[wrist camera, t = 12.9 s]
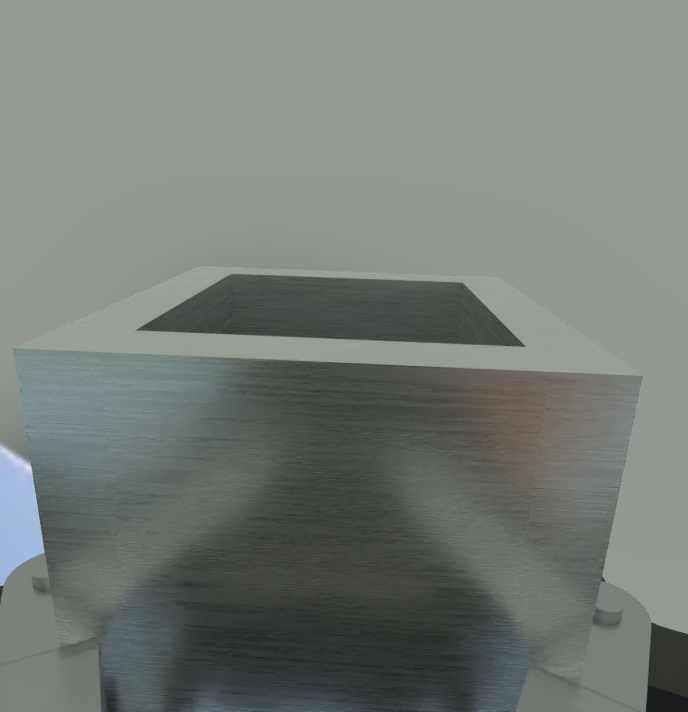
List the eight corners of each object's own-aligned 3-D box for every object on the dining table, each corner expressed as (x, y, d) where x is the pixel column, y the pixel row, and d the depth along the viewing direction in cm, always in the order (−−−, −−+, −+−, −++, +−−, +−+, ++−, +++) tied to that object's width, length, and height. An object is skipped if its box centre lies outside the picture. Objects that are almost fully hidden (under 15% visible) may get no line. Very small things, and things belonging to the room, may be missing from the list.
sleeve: (-7, 1153, 8) (-243, 385, 4) (189, 653, 17) (163, 257, 13) (616, 1218, 8) (902, 439, 4) (487, 672, 16) (542, 271, 13)
